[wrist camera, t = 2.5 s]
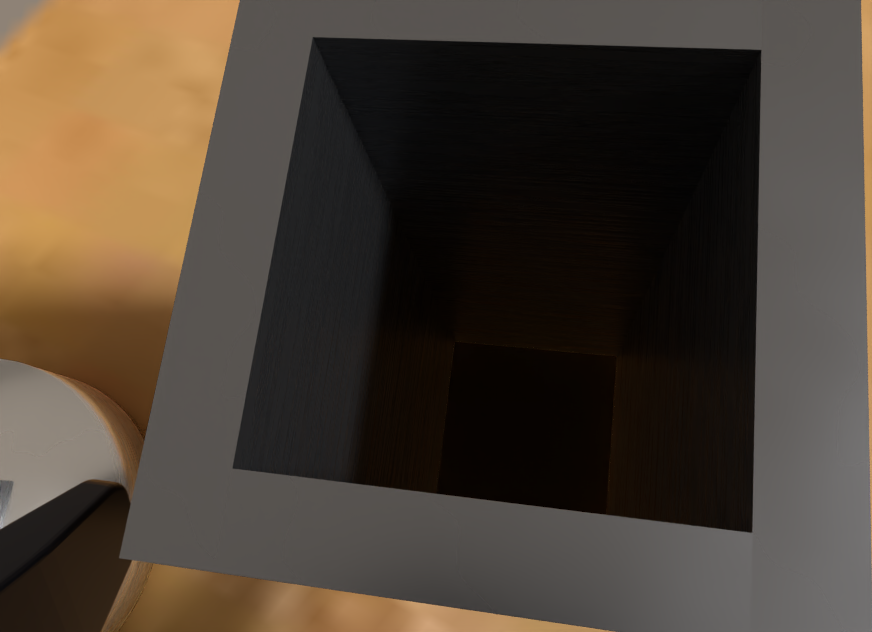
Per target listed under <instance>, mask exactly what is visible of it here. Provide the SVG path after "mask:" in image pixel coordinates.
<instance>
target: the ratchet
mask: <svg viewBox="0 0 872 632" xmlns="http://www.w3.org/2000/svg"><path fill="white" fill-rule="evenodd" d="M143 445H144V439H143V437H142V435H141V433H140V431H139V430H138V428H137V427H136V425H135V424H134V423H133V421H132V420H131V419H130V417H129V416H128V415H127V413H126V412H125V411H124V410H123V409H122V408H121V407H120V406H119V405H118V404H117V403H116V402H115V401H113V400H112V399H110V398H109V397H108V396H106V395H105V394H104V393H102V392H101V391H99V390H97V389H96V388H94V387H92V386H90V385H88V384H86V383H84V382H81V381H78V380H75V379H72V378H69V377H66V376H63V375H60V374H56V373H53V372H50V371H47V370H43V369H40V368H37V367H33V366H30V365H27V364H24V363H20V362H16V361H11V360H5V359H0V529H1V528H3V527H5V526H6V525H8V524H10V523H12V522H13V521H15V520H17V519H19V518H20V517H22V516H24V515H26V514H27V513H29V512H31V511H33V510H34V509H36V508H38V507H40V506H41V505H43V504H45V503H47V502H48V501H50V500H52V499H54V498H55V497H57V496H59V495H61V494H62V493H64V492H66V491H68V490H69V489H71V488H73V487H75V486H76V485H78V484H80V483H82V482H84V481H86V480H91V479H97V480H104V481H111V482H118V483H120V484H122V485H123V486H124V487H125V488H126V490H127V492H128V496H129V499H130V503H131V500H132V496H133V491H134V487H135V482H136V477H137V473H138V468H139V463H140V459H141V454H142V450H143ZM152 564H153V563H149V562H142V561H135V560H132V562H131V565H130V567H129V569H128V572H127V574H126V576H125V578H124V581H123V583H122V585H121V588H120V590H119V592H118V594H117V597H116V599H115V601H114V604H113V606H112V608H111V611H110V613H109V615H108V617H107V620H106V622H105V624H104V627H103V629H102V631H101V632H118V631H119V630H120V628H121V627H122V625H123V624H124V622H125V621H126V620H127V618H128V617H129V615H130V614H131V612H132V610H133V609H134V607H135V605H136V603H137V601H138V599H139V597H140V595H141V593H142V592H143V589H144V586H145V584H146V581H147V579H148V576H149V574H150V571H151V568H152Z"/></svg>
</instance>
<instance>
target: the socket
mask: <svg viewBox="0 0 872 632" xmlns="http://www.w3.org/2000/svg"><path fill="white" fill-rule="evenodd" d="M455 342H464V343H475V344H486V345H497V346H508V347H519V348H530V349H541V350H552V351H563V352H573V353H584V354H595V355H606V356H617V358H616V373H615V388H614V404H613V419H612V434H611V450H610V465H609V480H608V496H607V511H606V515H603V514H595V513H587V512H579V511H571V510H563V509H555V508H547V507H539V506H531V505H522V504H514V503H506V502H498V501H490V500H482V499H474V498H466V497H458V496H450V495H442V494H436V493H437V485H438V476H439V468H440V460H441V451H442V443H443V435H444V426H445V418H446V410H447V401H448V393H449V385H450V376H451V368H452V360H453V351H454V343H455ZM119 558H121V559H128V560H135V561H142V562H149V563H155V564H162V565H169V566H176V567H182V568H189V569H196V570H203V571H209V572H216V573H223V574H230V575H237V576H243V577H250V578H257V579H264V580H270V581H277V582H284V583H291V584H297V585H304V586H311V587H318V588H325V589H331V590H338V591H345V592H352V593H358V594H365V595H372V596H379V597H385V598H392V599H399V600H406V601H413V602H419V603H426V604H433V605H440V606H446V607H453V608H460V609H467V610H474V611H480V612H487V613H494V614H501V615H507V616H514V617H521V618H528V619H534V620H541V621H548V622H555V623H562V624H568V625H575V626H582V627H589V628H595V629H602V630H609V631H616V632H872V568H871V515H870V461H869V408H868V354H867V300H866V247H865V193H864V139H863V86H862V32H861V0H240V3H239V7H238V12H237V16H236V21H235V26H234V30H233V35H232V39H231V44H230V49H229V53H228V58H227V62H226V67H225V72H224V76H223V81H222V85H221V90H220V95H219V99H218V104H217V109H216V113H215V118H214V122H213V127H212V132H211V136H210V141H209V145H208V150H207V155H206V159H205V164H204V168H203V173H202V178H201V182H200V187H199V192H198V196H197V201H196V205H195V210H194V215H193V219H192V224H191V228H190V233H189V238H188V242H187V247H186V251H185V256H184V261H183V265H182V270H181V274H180V279H179V284H178V288H177V293H176V298H175V302H174V307H173V311H172V316H171V321H170V325H169V330H168V334H167V339H166V344H165V348H164V353H163V357H162V362H161V367H160V371H159V376H158V380H157V385H156V390H155V394H154V399H153V404H152V408H151V413H150V417H149V422H148V427H147V431H146V436H145V440H144V445H143V450H142V454H141V459H140V463H139V468H138V473H137V477H136V482H135V487H134V491H133V496H132V500H131V505H130V510H129V514H128V519H127V523H126V528H125V533H124V537H123V542H122V546H121V551H120V556H119Z"/></svg>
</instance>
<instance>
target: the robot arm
mask: <svg viewBox="0 0 872 632" xmlns="http://www.w3.org/2000/svg"><path fill="white" fill-rule="evenodd" d="M130 505H131V503H130V499H129V496H128V492H127V490H126V488H125V487H124V486H123V485H122V484H120V483H118V482H111V481H104V480H97V479H91V480H86V481H84V482H82V483H80V484H78V485H76V486H75V487H73V488H71V489H69V490H68V491H66V492H64V493H62V494H61V495H59V496H57V497H55V498H54V499H52V500H50V501H48V502H47V503H45V504H43V505H41V506H40V507H38V508H36V509H34V510H33V511H31V512H29V513H27V514H26V515H24V516H22V517H20V518H19V519H17V520H15V521H13V522H12V523H10V524H8V525H6V526H5V527H3V528H1V529H0V632H101V631H102V629H103V627H104V624H105V622H106V620H107V617H108V615H109V613H110V611H111V608H112V606H113V604H114V601H115V599H116V597H117V594H118V592H119V590H120V588H121V585H122V583H123V581H124V578H125V576H126V574H127V572H128V569H129V567H130V565H131V562H132V560H128V559H121V558H119V556H120V551H121V546H122V542H123V537H124V533H125V528H126V523H127V519H128V514H129V510H130Z"/></svg>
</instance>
